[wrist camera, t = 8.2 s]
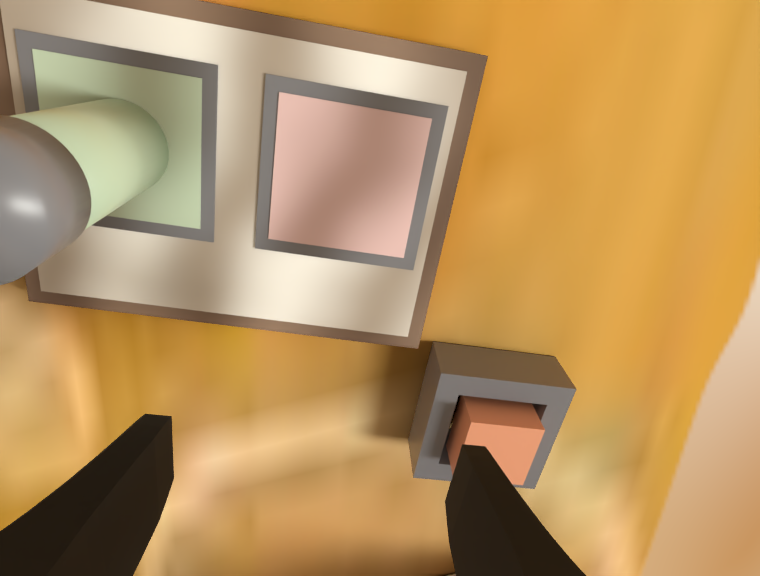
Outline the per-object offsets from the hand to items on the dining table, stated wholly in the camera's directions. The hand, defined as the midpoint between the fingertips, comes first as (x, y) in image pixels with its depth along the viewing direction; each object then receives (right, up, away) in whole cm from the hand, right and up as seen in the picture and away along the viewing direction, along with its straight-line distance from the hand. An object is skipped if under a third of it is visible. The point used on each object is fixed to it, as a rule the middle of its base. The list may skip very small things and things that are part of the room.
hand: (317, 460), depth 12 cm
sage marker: (-8, +9, +5) cm, 13 cm away
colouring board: (-4, +8, +7) cm, 12 cm away
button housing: (+6, -1, +12) cm, 14 cm away
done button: (+7, -2, +10) cm, 12 cm away
